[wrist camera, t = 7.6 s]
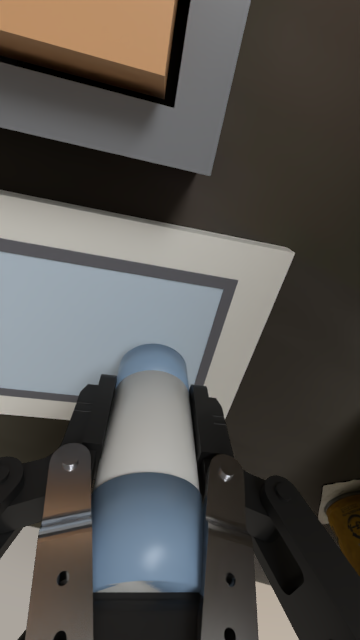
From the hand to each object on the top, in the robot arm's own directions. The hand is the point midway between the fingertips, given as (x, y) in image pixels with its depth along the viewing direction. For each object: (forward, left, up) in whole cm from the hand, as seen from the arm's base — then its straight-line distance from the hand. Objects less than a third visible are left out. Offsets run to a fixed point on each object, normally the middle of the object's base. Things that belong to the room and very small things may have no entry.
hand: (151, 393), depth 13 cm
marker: (0, 0, -2) cm, 2 cm away
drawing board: (0, -3, -4) cm, 5 cm away
